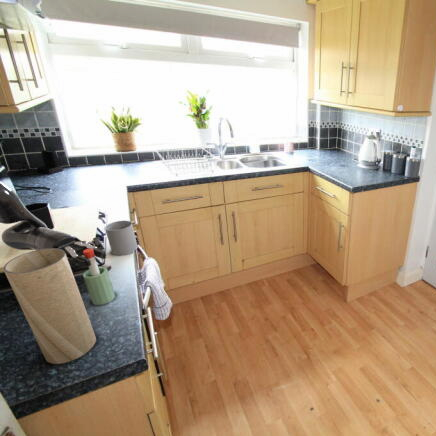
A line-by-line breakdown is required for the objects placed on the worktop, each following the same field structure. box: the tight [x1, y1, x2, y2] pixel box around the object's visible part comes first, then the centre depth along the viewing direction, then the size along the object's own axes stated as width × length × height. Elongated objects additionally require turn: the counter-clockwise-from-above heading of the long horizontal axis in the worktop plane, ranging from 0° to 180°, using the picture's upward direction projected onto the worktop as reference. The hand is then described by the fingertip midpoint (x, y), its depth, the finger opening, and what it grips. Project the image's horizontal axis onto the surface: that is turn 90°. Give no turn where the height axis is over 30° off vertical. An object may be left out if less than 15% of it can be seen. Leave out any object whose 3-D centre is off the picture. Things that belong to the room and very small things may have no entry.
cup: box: [104, 220, 139, 256], centre depth 117 cm, size 8×8×10 cm
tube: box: [3, 248, 97, 365], centre depth 72 cm, size 10×10×25 cm
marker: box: [83, 249, 100, 277], centre depth 90 cm, size 2×2×16 cm
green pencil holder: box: [82, 266, 116, 306], centre depth 92 cm, size 6×6×10 cm
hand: (96, 259), depth 87 cm, fingers open, 3 cm apart
